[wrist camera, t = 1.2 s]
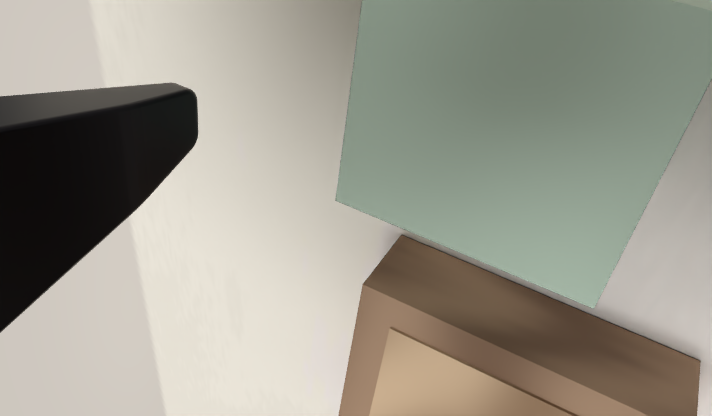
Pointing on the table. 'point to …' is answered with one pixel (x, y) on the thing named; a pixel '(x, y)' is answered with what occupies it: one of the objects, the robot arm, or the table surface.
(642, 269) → the table surface
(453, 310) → the walnut base
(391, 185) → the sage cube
